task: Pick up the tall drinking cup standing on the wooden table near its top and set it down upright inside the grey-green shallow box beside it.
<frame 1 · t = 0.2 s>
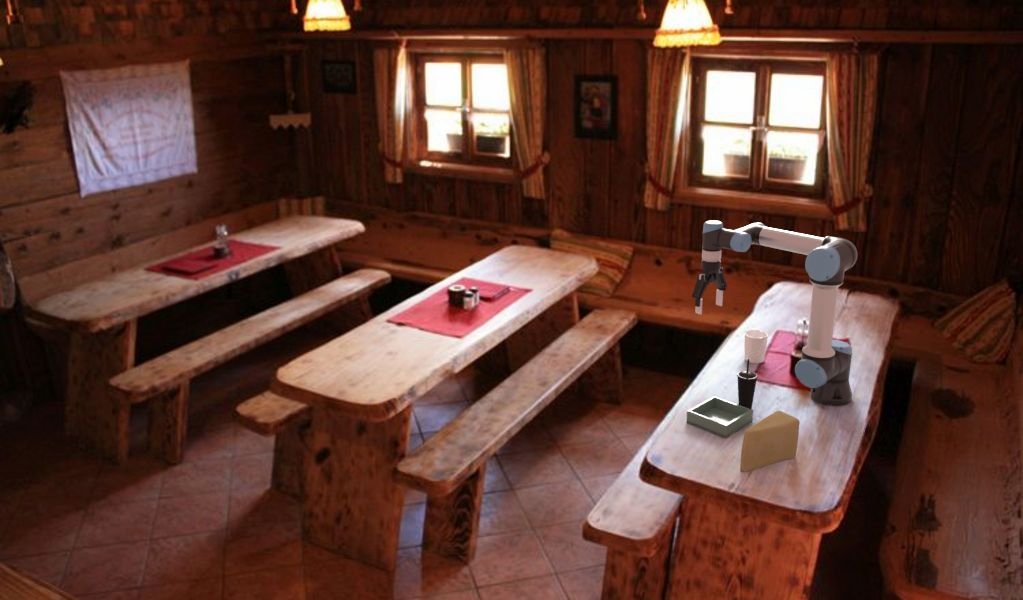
hand: (708, 309, 359), 28 cm above the table, tool pointing down, fingers open, 13 cm apart
drinking cup: (745, 407, 338), on the table
cheese: (764, 462, 300), on the table
white cup: (754, 360, 379), on the table
grey-green shallow box: (719, 422, 327), on the table
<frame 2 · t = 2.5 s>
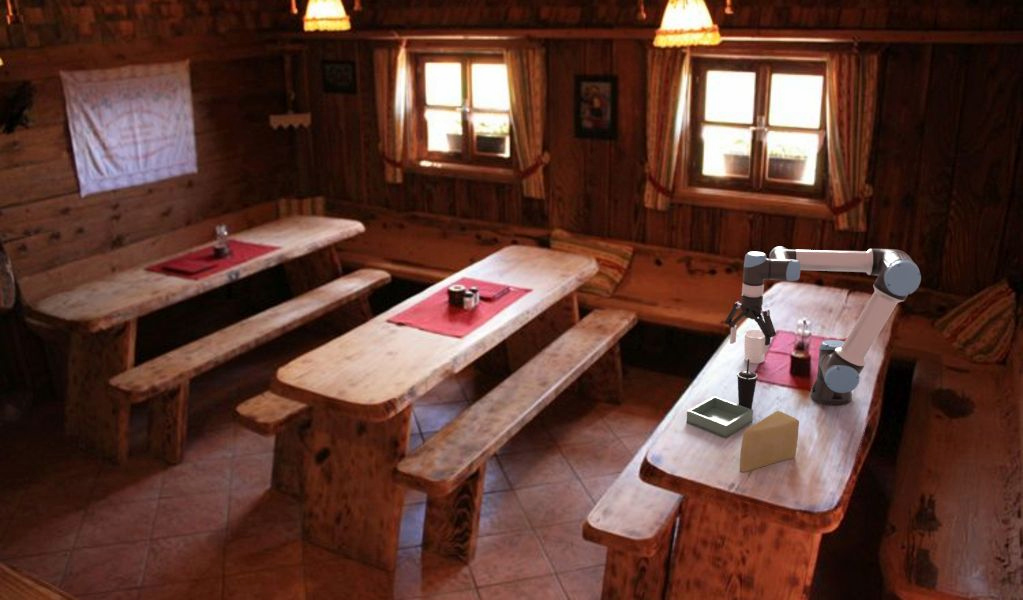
hand: (748, 347, 329), 25 cm above the table, tool pointing down, fingers open, 13 cm apart
nothing on the table moved.
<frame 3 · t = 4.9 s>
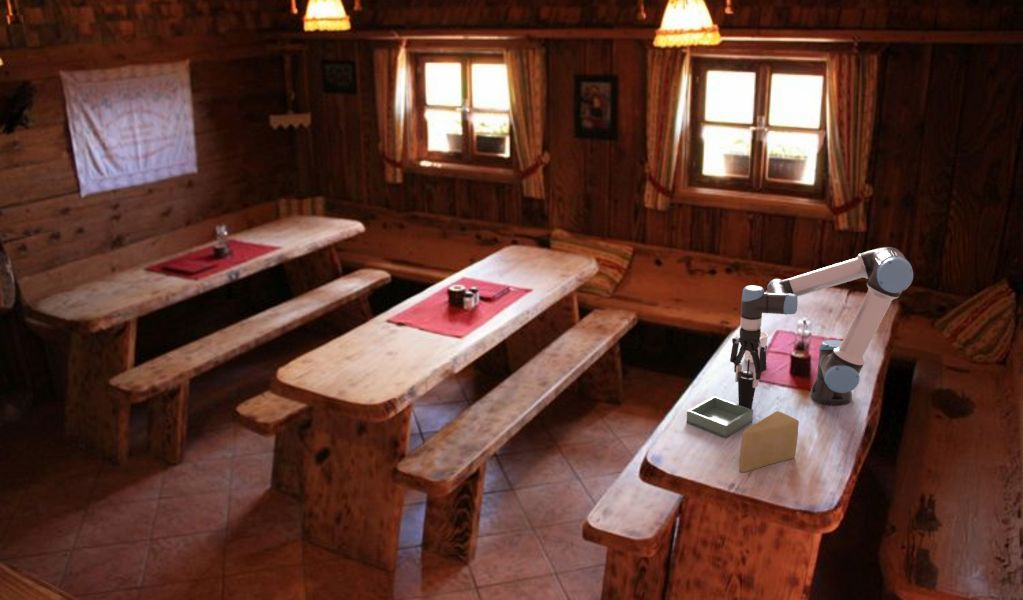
hand: (746, 383, 334), 10 cm above the table, tool pointing down, fingers closed on drinking cup, 7 cm apart
drinking cup: (745, 407, 338), on the table, touching gripper
everything else where it was.
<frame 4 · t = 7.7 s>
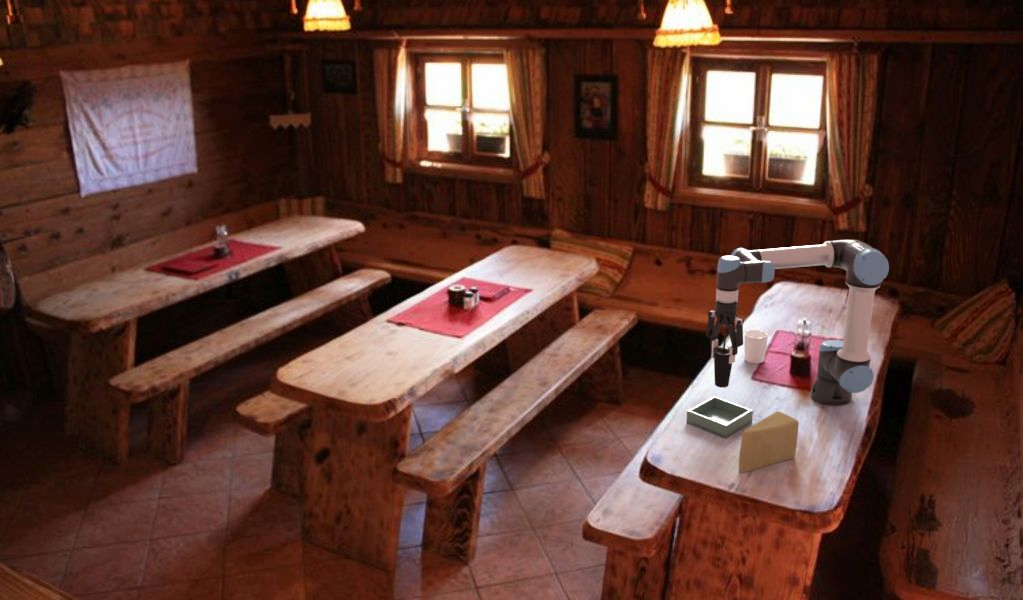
hand: (723, 359, 319), 25 cm above the table, tool pointing down, fingers closed on drinking cup, 7 cm apart
drinking cup: (721, 385, 322), point 15 cm above the table, touching gripper
everything else where it was.
when the fingers open (12 cm above the table, at t = 10.9 s): drinking cup drops 1 cm, resting on grey-green shallow box.
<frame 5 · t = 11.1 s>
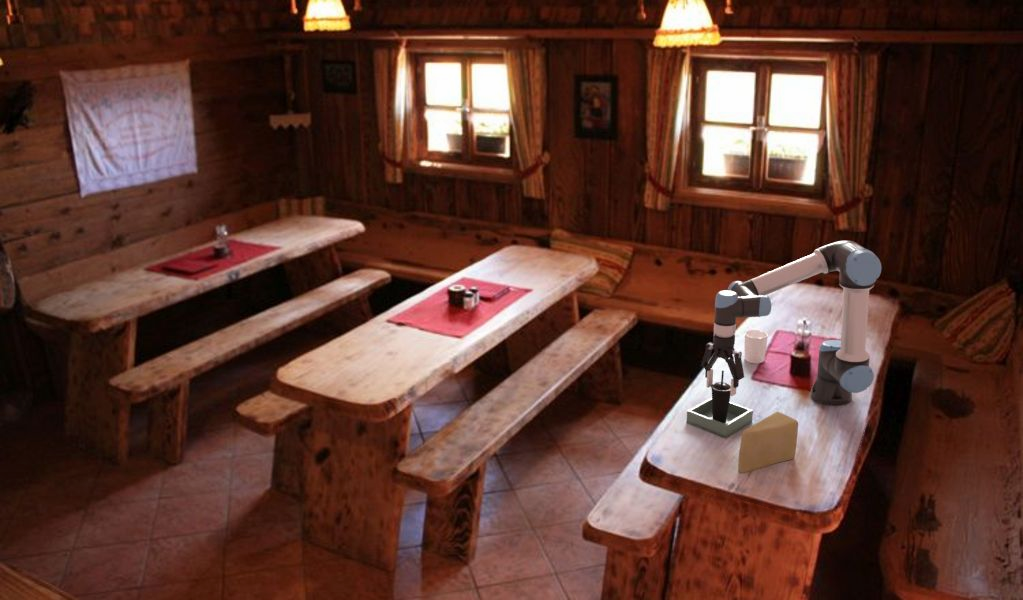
hand: (721, 390, 322), 13 cm above the table, tool pointing down, fingers open, 9 cm apart
drinking cup: (719, 420, 327), point 1 cm above the table, touching grey-green shallow box
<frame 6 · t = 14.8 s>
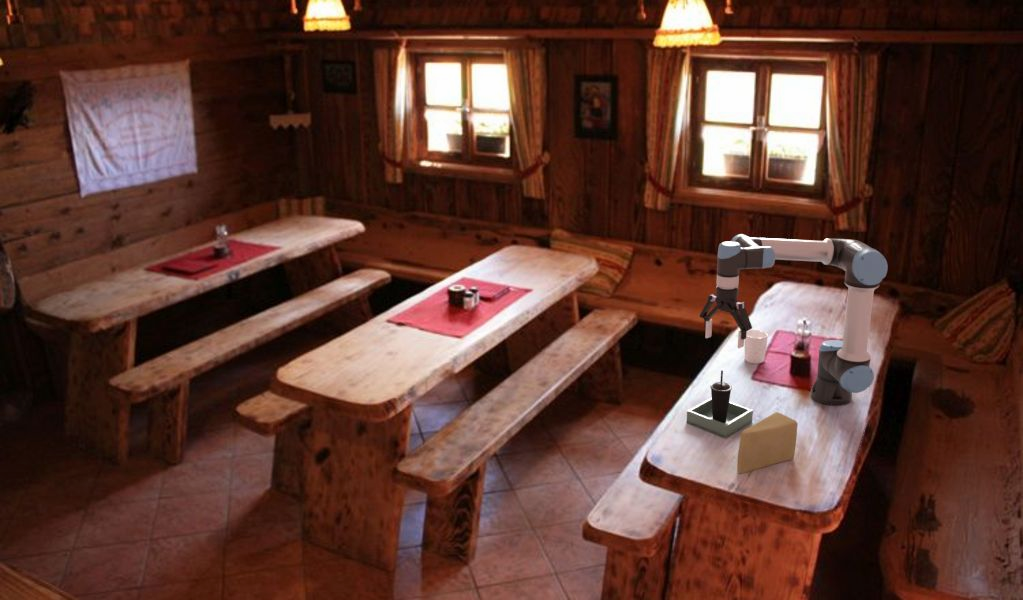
hand: (724, 342, 316), 32 cm above the table, tool pointing down, fingers open, 13 cm apart
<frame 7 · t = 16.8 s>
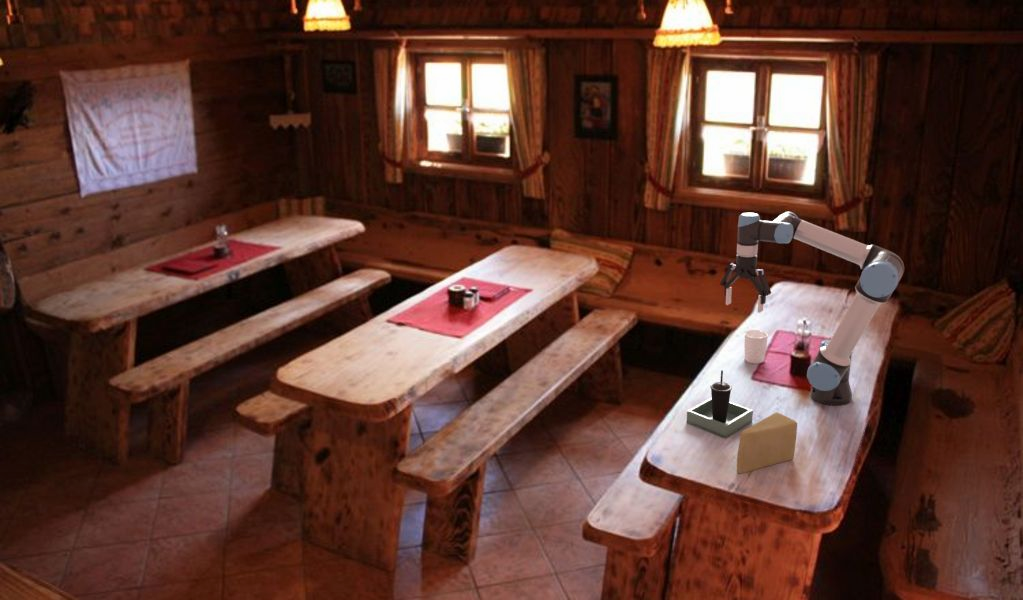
hand: (744, 307, 337), 36 cm above the table, tool pointing down, fingers open, 13 cm apart
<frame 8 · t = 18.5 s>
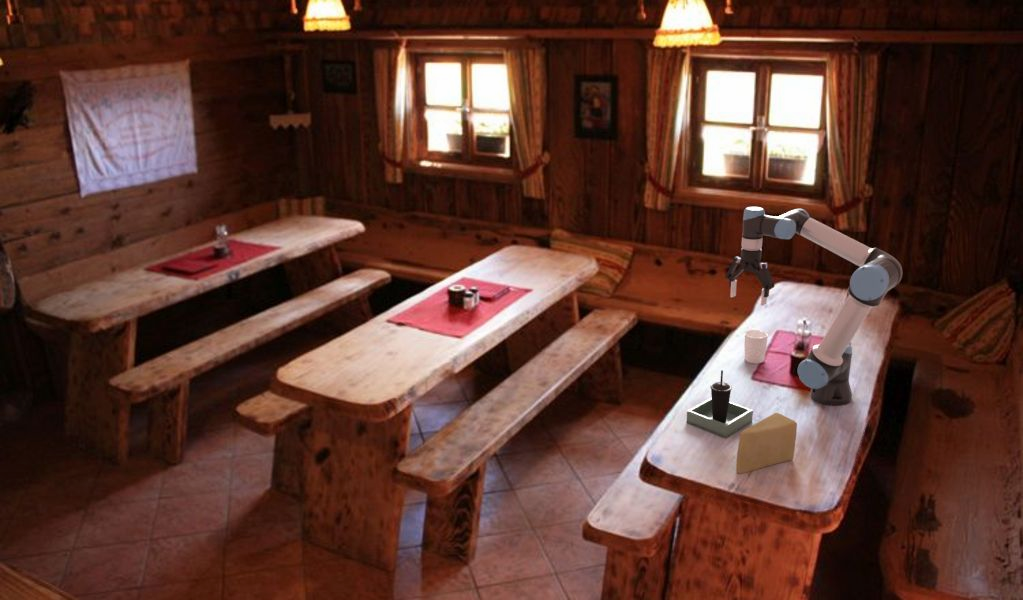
hand: (748, 300, 342), 37 cm above the table, tool pointing down, fingers open, 13 cm apart
at the end: drinking cup inside the target area on the grey-green shallow box (0.1 cm from its centre), point 0.8 cm above the grey-green shallow box's base; drinking cup tilted 0°; the gripper is holding nothing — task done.
